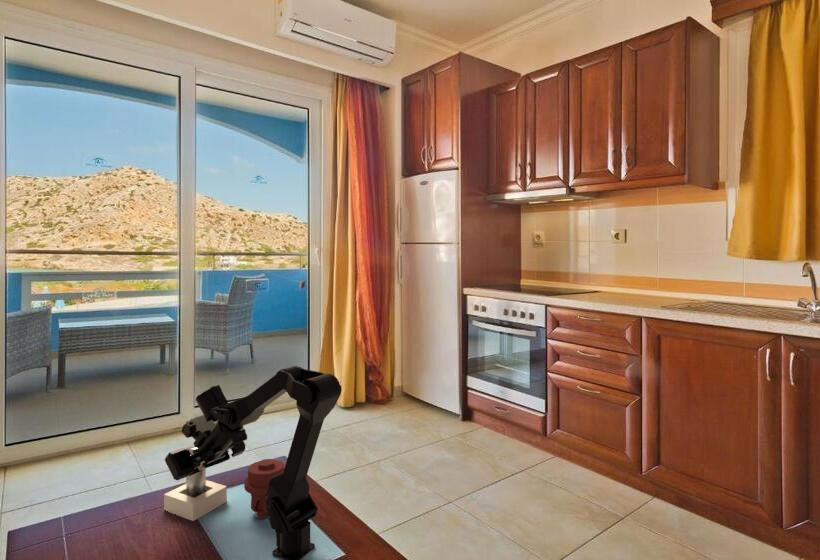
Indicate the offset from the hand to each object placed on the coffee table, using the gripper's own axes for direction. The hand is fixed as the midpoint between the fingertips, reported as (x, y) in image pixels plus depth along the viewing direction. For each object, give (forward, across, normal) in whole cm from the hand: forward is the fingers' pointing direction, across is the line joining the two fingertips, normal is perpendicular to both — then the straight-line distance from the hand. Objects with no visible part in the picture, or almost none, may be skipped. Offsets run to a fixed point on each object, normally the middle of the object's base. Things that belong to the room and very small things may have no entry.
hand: (192, 471), depth 120 cm
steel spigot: (+4, 0, +6) cm, 7 cm away
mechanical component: (-6, -7, +19) cm, 21 cm away
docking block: (+5, 0, +7) cm, 9 cm away
